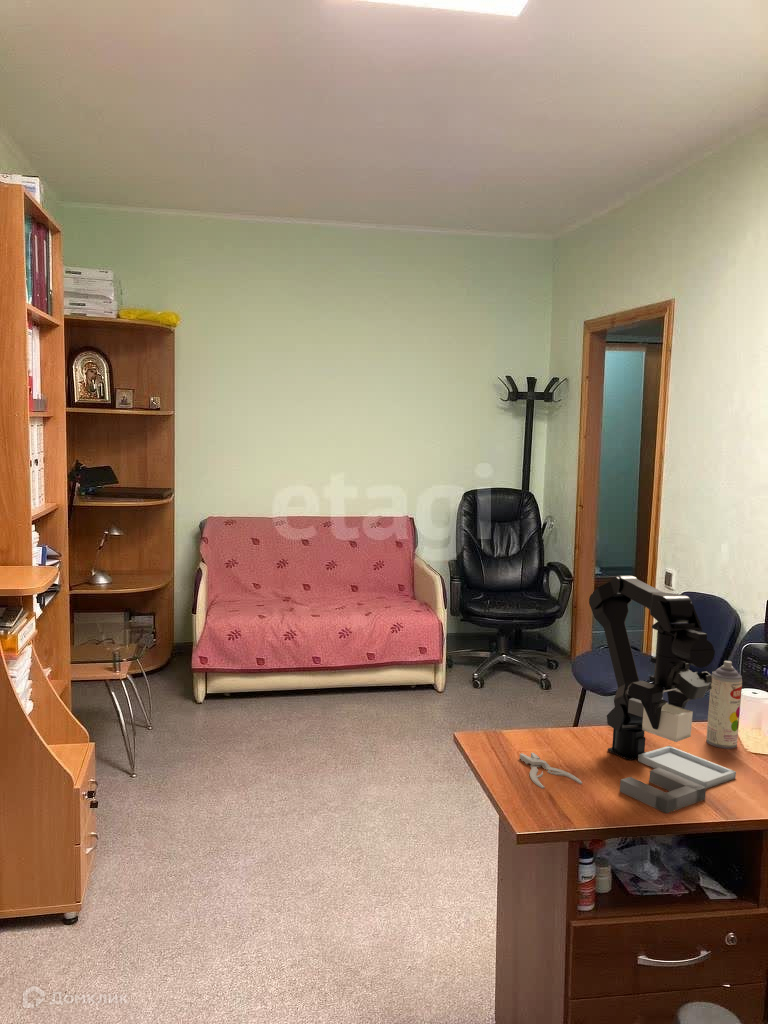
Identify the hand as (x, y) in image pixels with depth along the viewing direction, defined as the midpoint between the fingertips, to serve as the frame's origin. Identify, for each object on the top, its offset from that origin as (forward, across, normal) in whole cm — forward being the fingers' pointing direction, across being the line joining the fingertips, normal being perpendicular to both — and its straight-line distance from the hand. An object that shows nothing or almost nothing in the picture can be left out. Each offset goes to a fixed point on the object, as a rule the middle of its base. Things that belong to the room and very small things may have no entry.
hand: (664, 726), depth 170 cm
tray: (+11, +8, 0) cm, 14 cm away
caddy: (+1, 0, +2) cm, 2 cm away
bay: (+11, -8, -6) cm, 15 cm away
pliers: (+12, -21, +14) cm, 28 cm away
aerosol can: (+11, +30, +6) cm, 33 cm away
